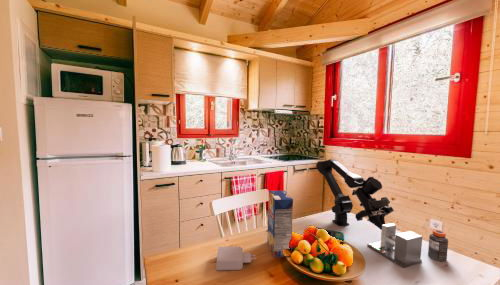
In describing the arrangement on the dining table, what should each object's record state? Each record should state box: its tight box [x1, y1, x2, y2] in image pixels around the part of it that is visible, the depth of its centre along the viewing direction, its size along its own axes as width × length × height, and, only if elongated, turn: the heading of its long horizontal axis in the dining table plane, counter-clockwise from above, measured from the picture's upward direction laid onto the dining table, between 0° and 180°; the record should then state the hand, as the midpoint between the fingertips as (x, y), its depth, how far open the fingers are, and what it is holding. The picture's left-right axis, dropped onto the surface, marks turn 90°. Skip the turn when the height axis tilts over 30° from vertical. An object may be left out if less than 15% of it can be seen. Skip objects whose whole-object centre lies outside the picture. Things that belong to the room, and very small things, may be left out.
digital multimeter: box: [317, 227, 345, 242], centre depth 106 cm, size 7×15×3 cm, turn 68°
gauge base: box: [367, 230, 423, 269], centre depth 92 cm, size 16×11×11 cm
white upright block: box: [378, 222, 397, 249], centre depth 93 cm, size 5×8×10 cm, turn 111°
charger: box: [216, 245, 257, 271], centre depth 84 cm, size 5×9×15 cm
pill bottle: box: [427, 229, 449, 262], centre depth 90 cm, size 6×6×11 cm
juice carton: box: [266, 190, 294, 258], centre depth 94 cm, size 12×8×24 cm, turn 7°
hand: (385, 231), depth 96 cm, fingers closed, pressing on white upright block
